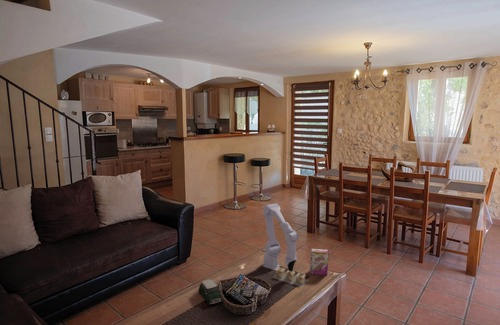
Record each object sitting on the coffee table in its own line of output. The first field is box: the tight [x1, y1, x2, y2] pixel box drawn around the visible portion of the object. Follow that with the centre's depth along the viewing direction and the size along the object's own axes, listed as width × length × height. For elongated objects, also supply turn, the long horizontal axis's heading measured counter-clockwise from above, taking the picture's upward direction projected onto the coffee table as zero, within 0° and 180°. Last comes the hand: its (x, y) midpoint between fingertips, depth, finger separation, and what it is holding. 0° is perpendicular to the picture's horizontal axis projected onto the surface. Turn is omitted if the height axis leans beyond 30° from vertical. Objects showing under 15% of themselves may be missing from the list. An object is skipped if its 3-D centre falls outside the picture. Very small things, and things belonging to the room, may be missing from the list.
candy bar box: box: [309, 248, 330, 276], centre depth 205 cm, size 11×5×16 cm, turn 84°
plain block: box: [285, 270, 296, 281], centre depth 198 cm, size 4×4×4 cm
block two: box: [295, 272, 306, 285], centre depth 195 cm, size 4×4×5 cm
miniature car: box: [198, 278, 222, 306], centre depth 178 cm, size 9×18×8 cm, turn 31°
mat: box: [271, 272, 309, 288], centre depth 199 cm, size 21×10×1 cm, turn 59°
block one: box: [275, 266, 286, 278], centre depth 202 cm, size 4×4×5 cm
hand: (290, 270), depth 198 cm, fingers closed
